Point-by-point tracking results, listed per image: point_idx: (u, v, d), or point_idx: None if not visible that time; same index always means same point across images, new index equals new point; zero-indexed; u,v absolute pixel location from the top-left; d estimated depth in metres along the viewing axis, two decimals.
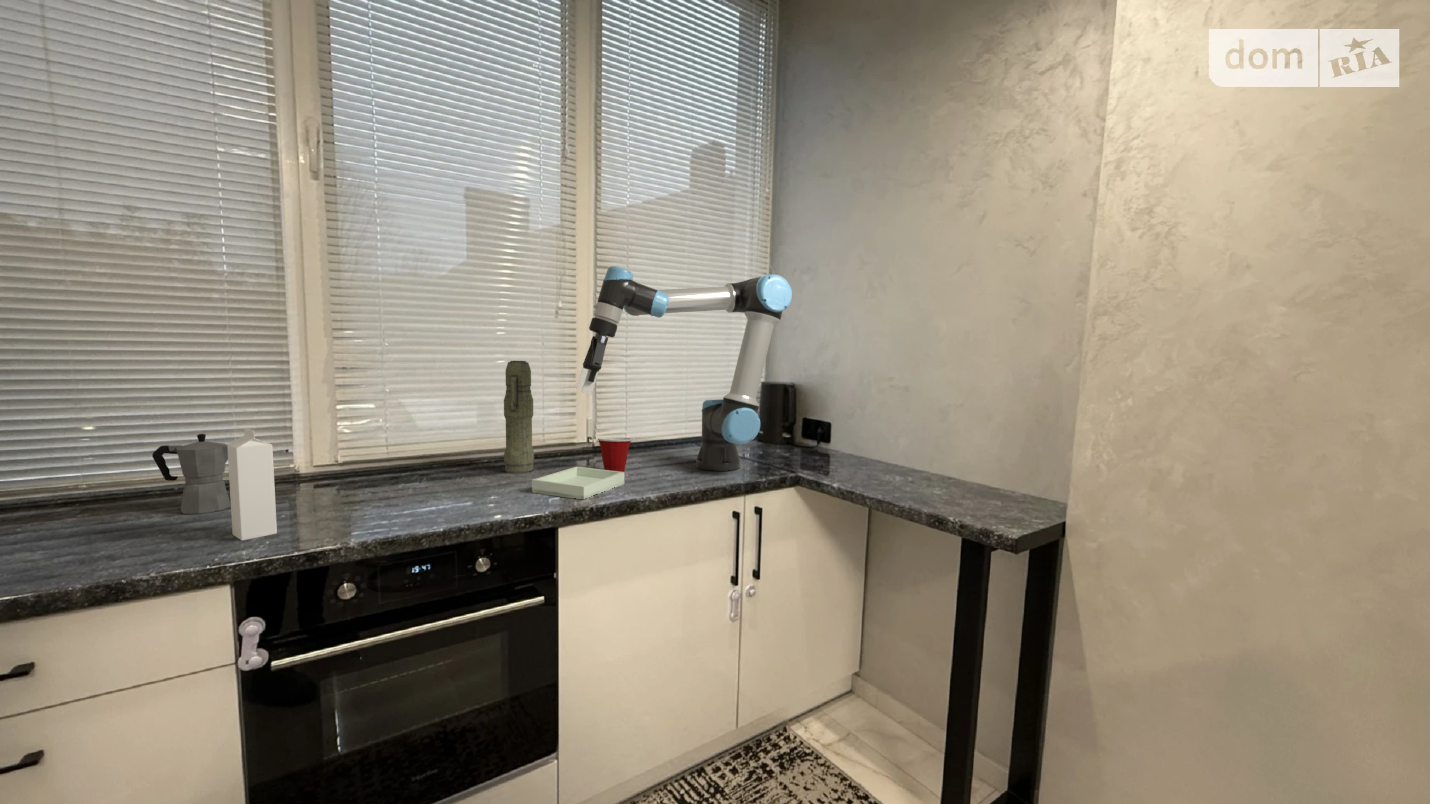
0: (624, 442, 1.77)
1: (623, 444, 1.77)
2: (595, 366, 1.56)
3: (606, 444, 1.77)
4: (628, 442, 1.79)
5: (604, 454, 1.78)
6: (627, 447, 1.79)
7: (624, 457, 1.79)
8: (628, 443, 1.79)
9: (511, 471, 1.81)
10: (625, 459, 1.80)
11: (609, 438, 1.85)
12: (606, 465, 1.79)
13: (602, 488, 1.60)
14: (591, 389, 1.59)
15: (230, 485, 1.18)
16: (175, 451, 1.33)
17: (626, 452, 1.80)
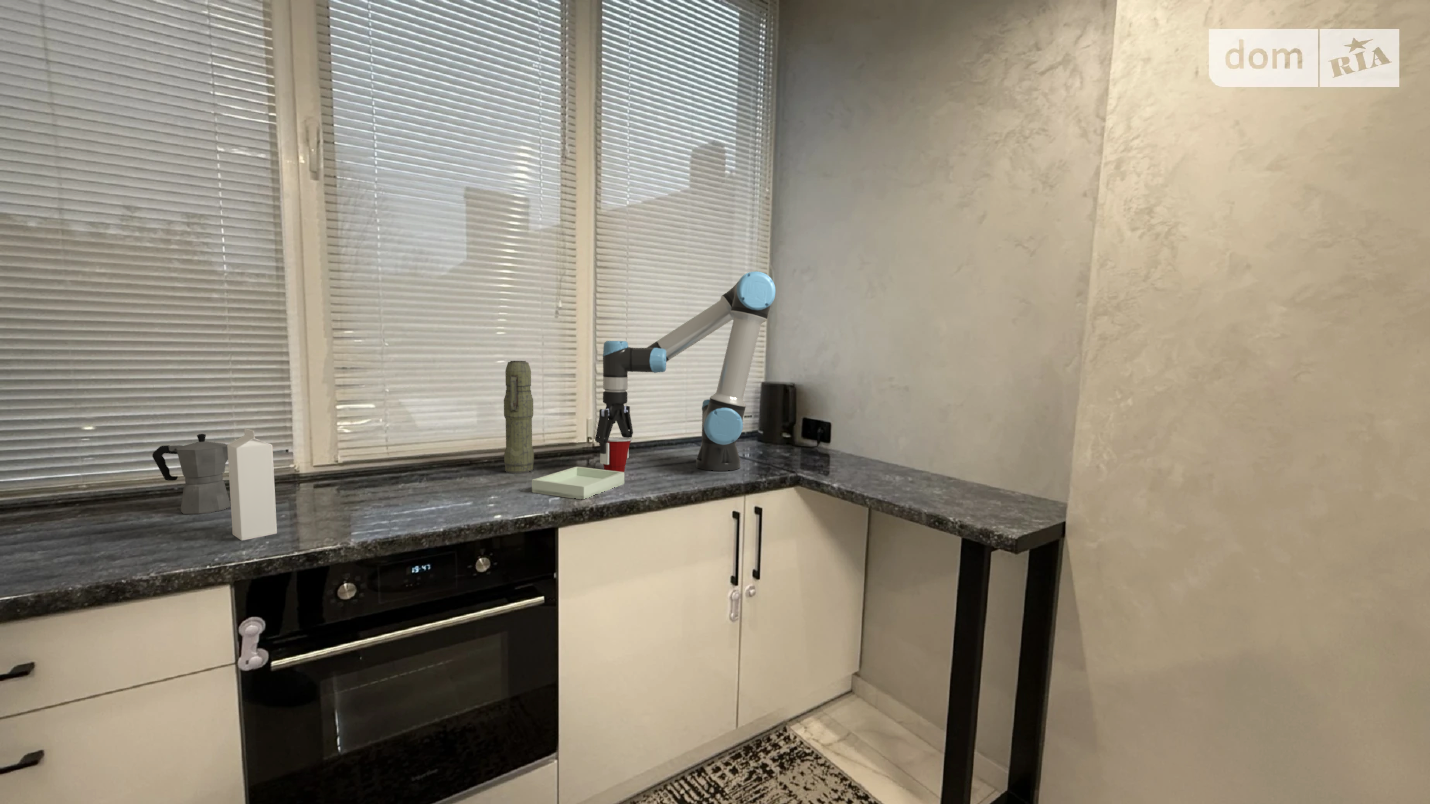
0: (624, 442, 1.77)
1: (623, 444, 1.77)
2: (597, 440, 1.73)
3: None
4: (628, 442, 1.79)
5: None
6: (627, 447, 1.79)
7: (624, 457, 1.79)
8: (628, 443, 1.79)
9: (511, 471, 1.81)
10: (625, 459, 1.80)
11: (609, 438, 1.85)
12: (606, 465, 1.79)
13: (602, 488, 1.60)
14: (606, 459, 1.76)
15: (230, 485, 1.18)
16: (175, 451, 1.33)
17: (626, 452, 1.80)
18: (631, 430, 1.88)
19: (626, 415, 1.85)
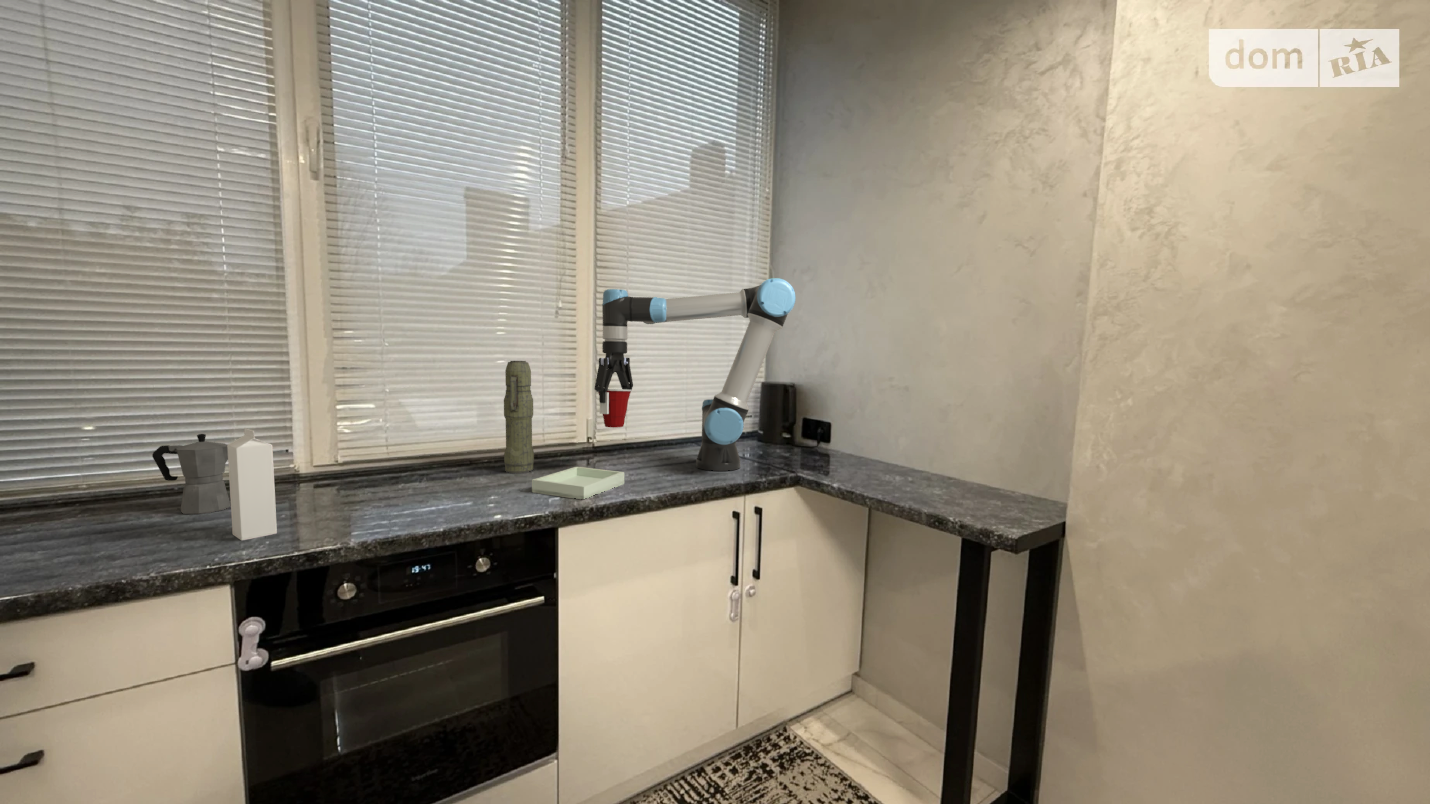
0: (624, 392, 1.76)
1: (623, 394, 1.76)
2: (597, 389, 1.71)
3: None
4: (628, 392, 1.77)
5: None
6: (627, 397, 1.78)
7: (624, 408, 1.77)
8: (628, 393, 1.78)
9: (511, 471, 1.81)
10: (625, 410, 1.78)
11: None
12: (605, 415, 1.77)
13: (602, 488, 1.60)
14: (606, 409, 1.74)
15: (230, 485, 1.18)
16: (175, 451, 1.33)
17: (626, 403, 1.78)
18: (631, 383, 1.86)
19: (626, 367, 1.84)
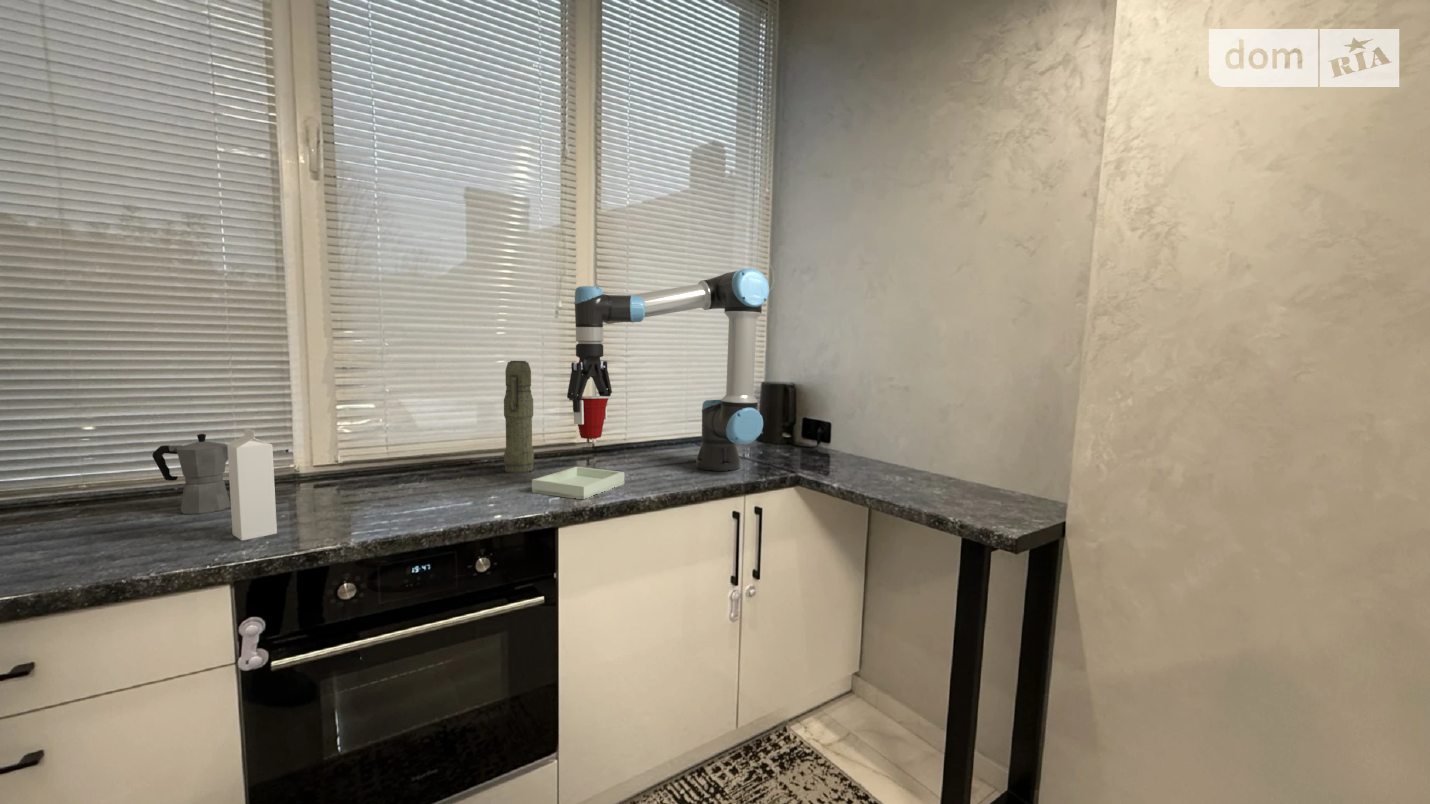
0: (600, 399, 1.59)
1: (599, 402, 1.59)
2: (570, 397, 1.55)
3: None
4: (604, 400, 1.61)
5: None
6: (604, 405, 1.61)
7: (600, 416, 1.61)
8: (605, 401, 1.61)
9: (511, 471, 1.81)
10: (602, 419, 1.62)
11: (584, 397, 1.67)
12: (581, 426, 1.60)
13: (602, 488, 1.60)
14: (580, 419, 1.57)
15: (230, 485, 1.18)
16: (175, 451, 1.33)
17: (603, 411, 1.61)
18: (609, 388, 1.69)
19: (603, 371, 1.67)
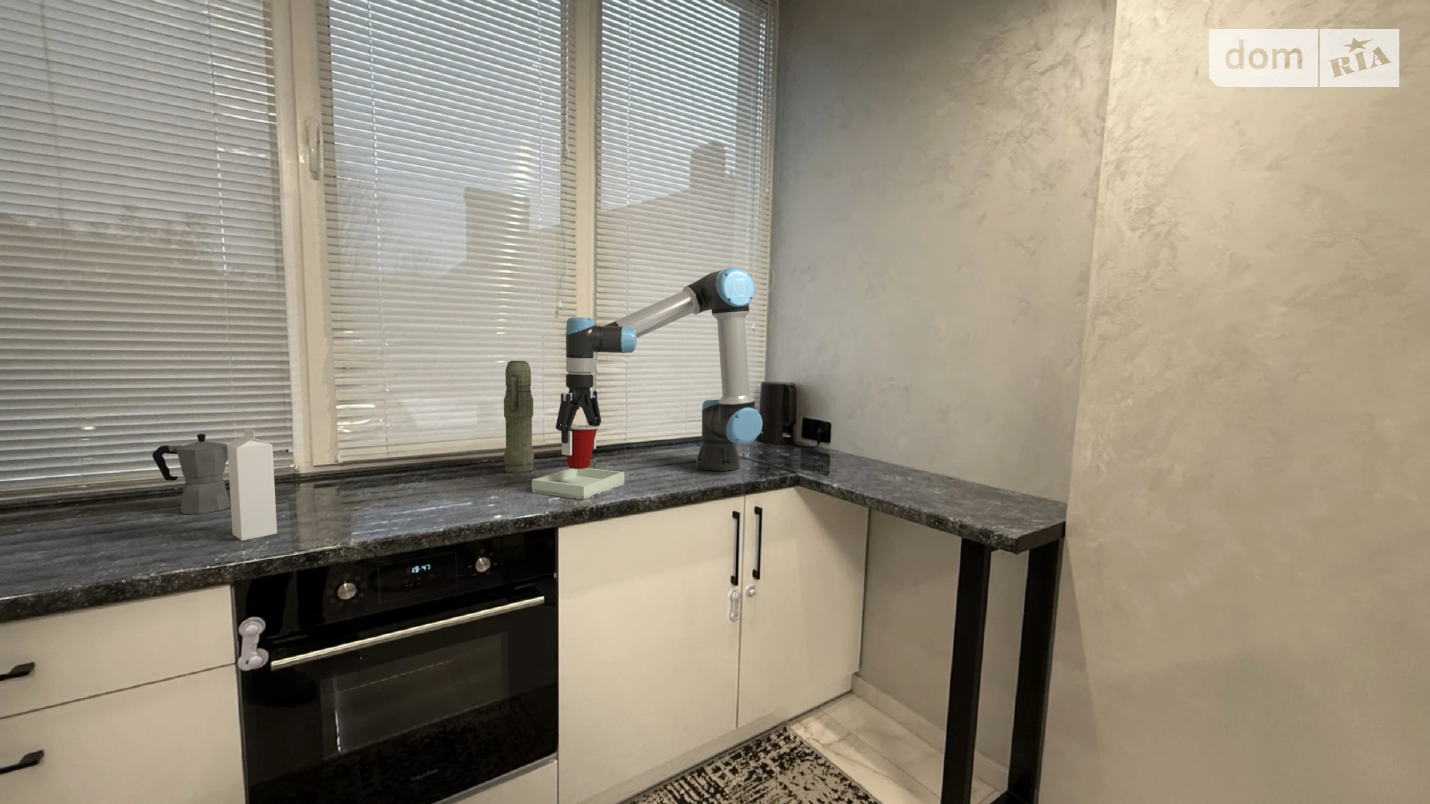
0: (589, 430, 1.59)
1: (587, 432, 1.59)
2: (558, 428, 1.55)
3: None
4: (593, 430, 1.61)
5: None
6: (592, 436, 1.61)
7: (589, 447, 1.61)
8: (593, 431, 1.61)
9: (511, 471, 1.81)
10: (590, 449, 1.62)
11: (574, 426, 1.67)
12: (569, 456, 1.60)
13: (602, 488, 1.60)
14: (568, 450, 1.57)
15: (230, 485, 1.18)
16: (175, 451, 1.33)
17: (591, 442, 1.61)
18: (599, 418, 1.69)
19: (593, 401, 1.67)
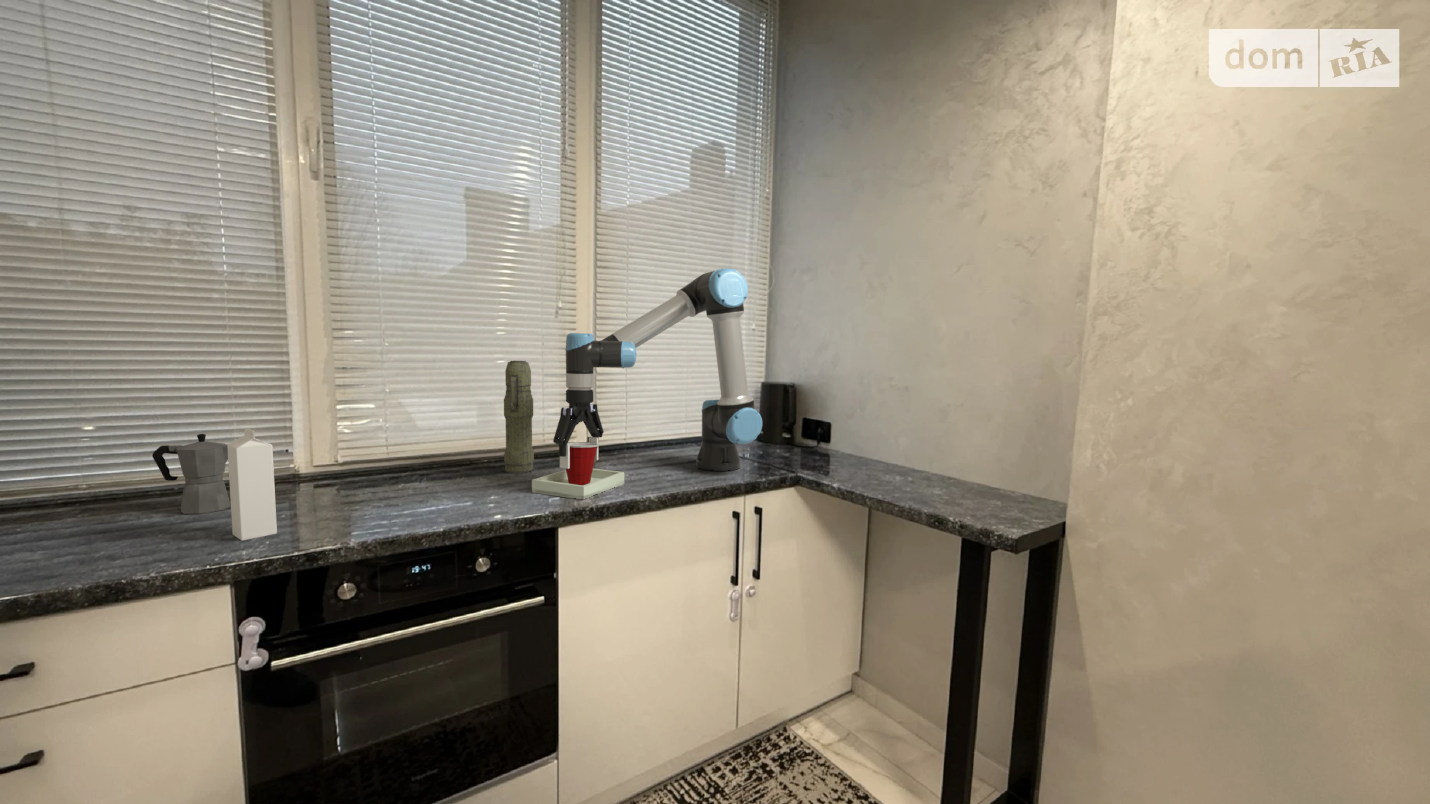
0: (589, 448, 1.60)
1: (588, 450, 1.60)
2: (556, 441, 1.54)
3: None
4: (594, 448, 1.61)
5: None
6: (593, 454, 1.62)
7: (589, 465, 1.62)
8: (594, 449, 1.62)
9: (511, 471, 1.81)
10: (591, 467, 1.62)
11: (574, 444, 1.67)
12: (569, 474, 1.61)
13: (602, 488, 1.60)
14: (566, 463, 1.57)
15: (230, 485, 1.18)
16: (175, 451, 1.33)
17: (592, 459, 1.62)
18: (601, 429, 1.71)
19: (594, 414, 1.68)
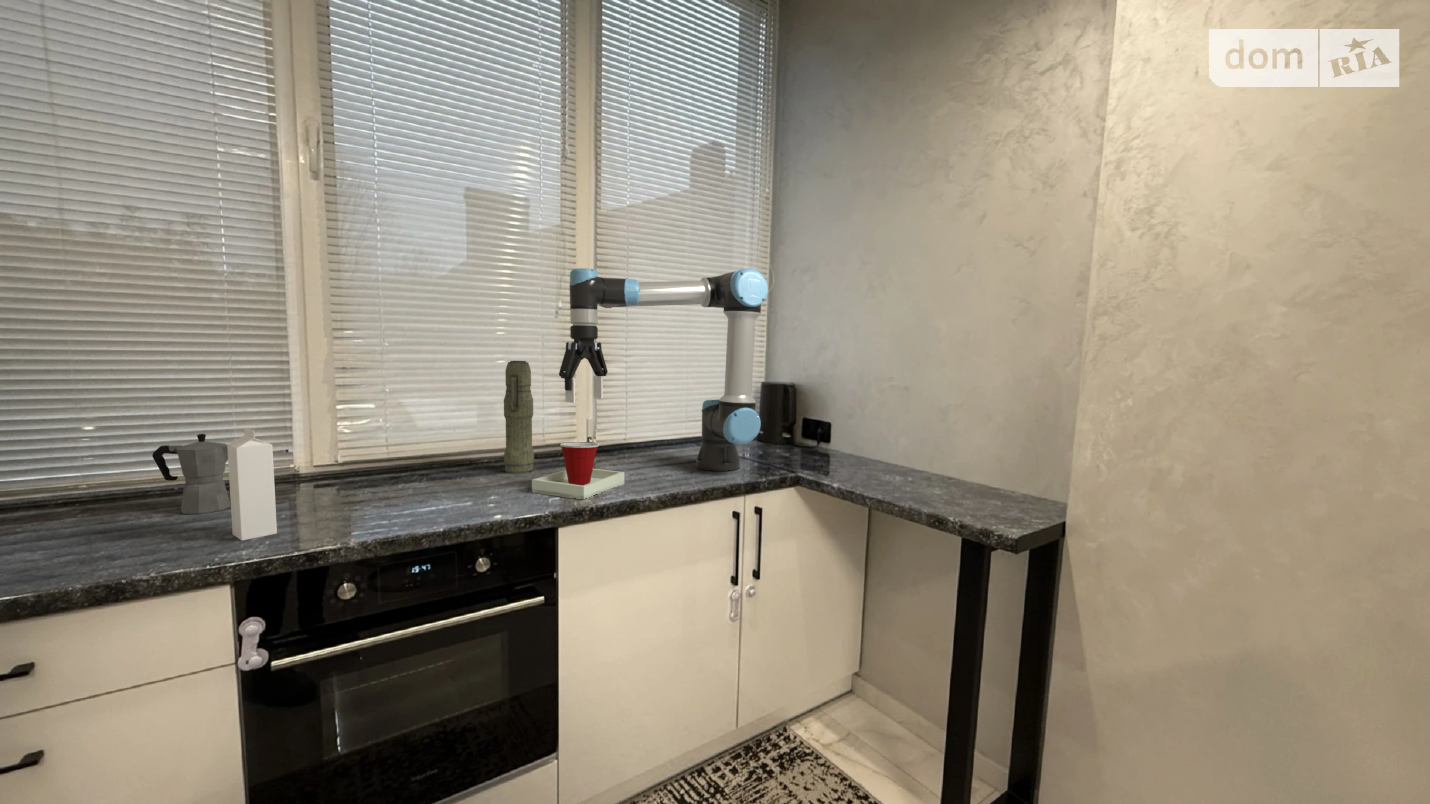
0: (589, 448, 1.60)
1: (588, 451, 1.60)
2: (561, 374, 1.55)
3: (569, 451, 1.59)
4: (594, 448, 1.61)
5: (567, 462, 1.60)
6: (593, 454, 1.62)
7: (589, 465, 1.61)
8: (594, 449, 1.62)
9: (511, 471, 1.81)
10: (591, 467, 1.62)
11: (574, 444, 1.67)
12: (569, 474, 1.61)
13: (602, 488, 1.60)
14: (572, 397, 1.58)
15: (230, 485, 1.18)
16: (175, 451, 1.33)
17: (592, 459, 1.62)
18: (605, 368, 1.72)
19: (598, 353, 1.69)
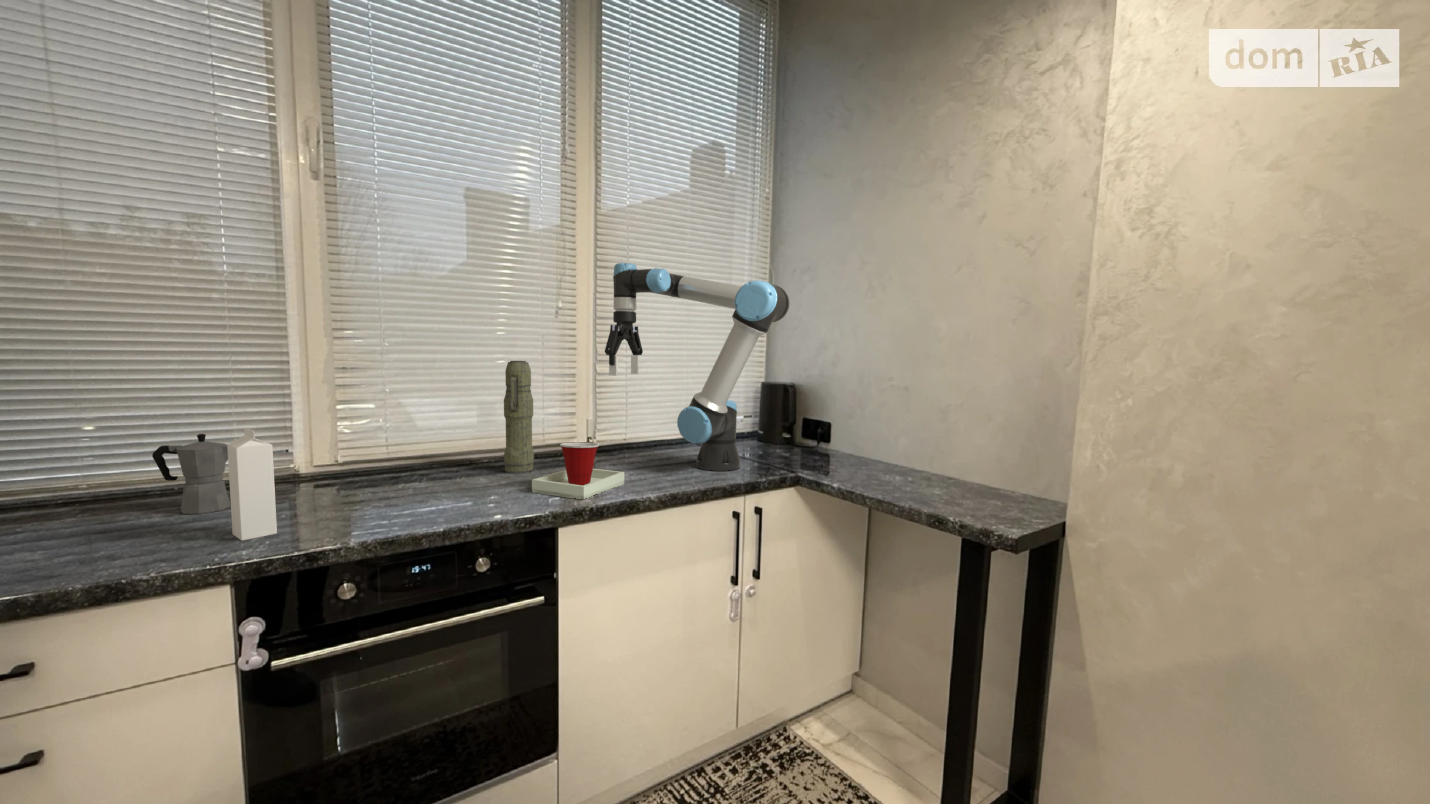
0: (589, 448, 1.60)
1: (588, 451, 1.60)
2: (607, 351, 1.85)
3: (569, 451, 1.59)
4: (594, 448, 1.61)
5: (567, 462, 1.60)
6: (593, 454, 1.62)
7: (589, 465, 1.61)
8: (594, 449, 1.62)
9: (511, 471, 1.81)
10: (591, 467, 1.62)
11: (574, 444, 1.67)
12: (569, 474, 1.61)
13: (602, 488, 1.60)
14: (615, 371, 1.88)
15: (230, 485, 1.18)
16: (175, 451, 1.33)
17: (592, 459, 1.62)
18: (641, 349, 2.02)
19: (635, 335, 1.99)
